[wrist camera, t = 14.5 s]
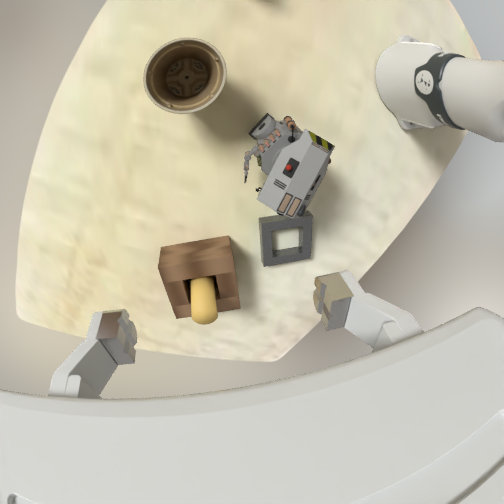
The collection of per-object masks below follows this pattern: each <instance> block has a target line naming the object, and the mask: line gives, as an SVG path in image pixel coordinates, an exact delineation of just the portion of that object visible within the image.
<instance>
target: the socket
mask: <svg viewBox="0 0 504 504" xmlns="http://www.w3.org/2000/svg"><path fill="white" fill-rule="evenodd" d="M158 269H159V272H160V275H161V278H162V281H163V284H164V287H165V289H166V292H167V295H168V298H169V300H170V303H171V306H172V308H173V311H174V314H175V316H176V319H178V318H185V317H192V314H191V282H189V281H188V279H192V278H199V277H205V276H211V275H216V278H213V282H214V290H215V298H216V306H217V312H223V311H229V310H235V309H240V302H239V295H238V288H237V281H236V274H235V267H234V260H233V254H232V250H231V245H230V241H229V236H223V237H217V238H211V239H205V240H199V241H193V242H188V243H182V244H176V245H170V246H165V247H161V251H160V258H159V264H158Z"/></svg>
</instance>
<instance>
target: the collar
mask: <svg viewBox="0 0 504 504" xmlns="http://www.w3.org/2000/svg"><path fill="white" fill-rule="evenodd" d="M312 218H313V216H312V215H311V213H310V212H309V211H305V212H304V214H303V216H302V217H301V218H295V219H293V218H290V217H288V216H285V215H284V216H281V215H276V216H269V217H263V218H259V229H260V244H261V259H262V263H263V266H264V267H265V266H271V265H276V264H282V263H288V262H293V261H299V260H304V259H310V257H311V240H312ZM294 227H299V247H293V248H288V249H282V250H276V251H272V231H274V230H281V229H287V228H294Z"/></svg>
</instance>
